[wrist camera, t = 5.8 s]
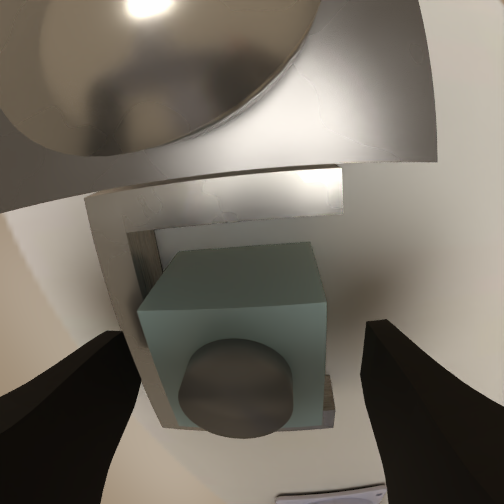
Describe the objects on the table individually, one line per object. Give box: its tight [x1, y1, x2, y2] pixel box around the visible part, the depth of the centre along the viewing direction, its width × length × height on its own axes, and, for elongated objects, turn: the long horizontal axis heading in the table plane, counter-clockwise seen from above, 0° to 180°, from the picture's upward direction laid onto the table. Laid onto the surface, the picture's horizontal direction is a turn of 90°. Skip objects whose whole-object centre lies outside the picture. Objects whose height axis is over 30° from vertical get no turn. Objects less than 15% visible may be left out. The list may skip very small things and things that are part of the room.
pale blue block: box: [137, 242, 327, 439], centre depth 9 cm, size 4×4×5 cm
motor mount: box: [0, 0, 437, 432], centre depth 7 cm, size 16×8×7 cm, turn 6°
